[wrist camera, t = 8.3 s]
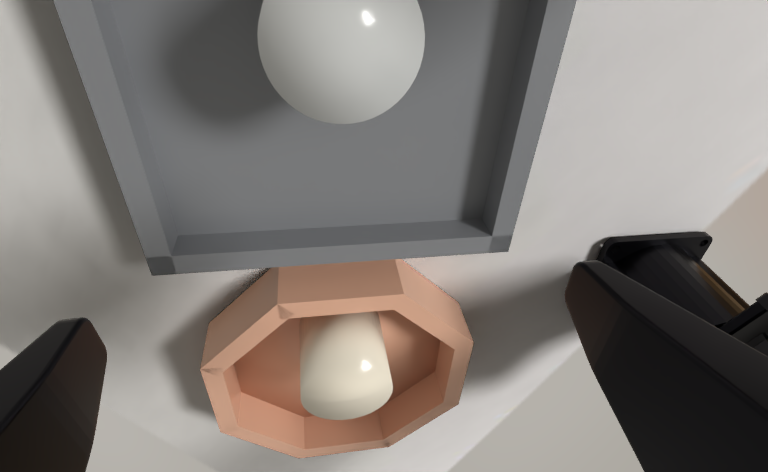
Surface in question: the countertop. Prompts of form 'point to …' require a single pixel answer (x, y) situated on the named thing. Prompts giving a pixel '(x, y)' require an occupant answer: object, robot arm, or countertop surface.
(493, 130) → the tray
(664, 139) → the countertop surface
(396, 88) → the pebble grey
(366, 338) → the pebble sand
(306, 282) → the bowl
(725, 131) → the countertop surface
